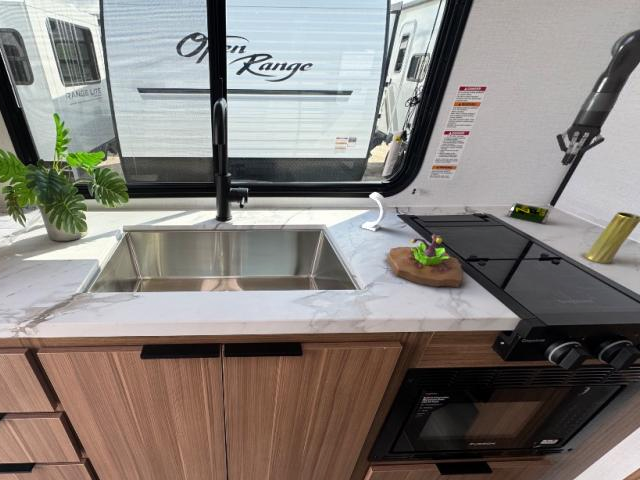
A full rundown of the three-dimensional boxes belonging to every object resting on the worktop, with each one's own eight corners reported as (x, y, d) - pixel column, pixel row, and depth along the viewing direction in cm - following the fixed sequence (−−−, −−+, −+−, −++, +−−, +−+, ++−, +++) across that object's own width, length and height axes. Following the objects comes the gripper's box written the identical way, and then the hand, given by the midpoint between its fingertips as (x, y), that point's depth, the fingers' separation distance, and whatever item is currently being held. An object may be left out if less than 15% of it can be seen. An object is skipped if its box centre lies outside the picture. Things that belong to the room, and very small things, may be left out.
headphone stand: (366, 223, 122) (374, 191, 115) (382, 228, 119) (391, 195, 112) (361, 227, 119) (369, 194, 112) (377, 231, 116) (386, 198, 109)
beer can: (541, 226, 125) (505, 218, 131) (546, 217, 127) (509, 209, 133) (548, 216, 121) (510, 208, 127) (552, 206, 122) (514, 199, 129)
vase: (603, 265, 98) (638, 220, 90) (579, 256, 103) (610, 213, 94) (614, 261, 100) (648, 217, 92) (590, 253, 105) (621, 210, 96)
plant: (390, 280, 89) (403, 243, 82) (384, 250, 104) (394, 216, 98) (471, 292, 85) (490, 254, 78) (452, 258, 100) (467, 224, 94)
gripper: (624, 109, 104) (590, 166, 114) (570, 106, 111) (543, 160, 121) (624, 111, 99) (588, 170, 109) (568, 108, 107) (540, 163, 117)
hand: (564, 164), depth 115 cm, fingers closed
